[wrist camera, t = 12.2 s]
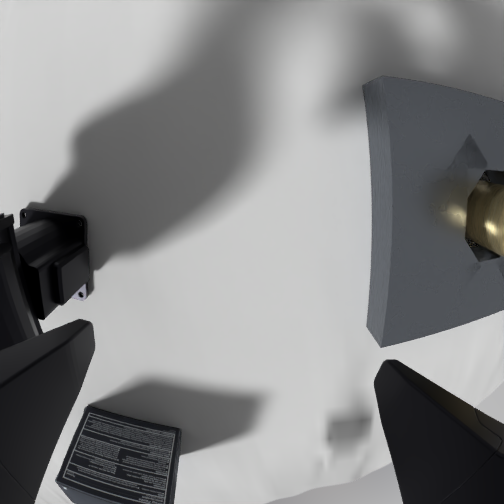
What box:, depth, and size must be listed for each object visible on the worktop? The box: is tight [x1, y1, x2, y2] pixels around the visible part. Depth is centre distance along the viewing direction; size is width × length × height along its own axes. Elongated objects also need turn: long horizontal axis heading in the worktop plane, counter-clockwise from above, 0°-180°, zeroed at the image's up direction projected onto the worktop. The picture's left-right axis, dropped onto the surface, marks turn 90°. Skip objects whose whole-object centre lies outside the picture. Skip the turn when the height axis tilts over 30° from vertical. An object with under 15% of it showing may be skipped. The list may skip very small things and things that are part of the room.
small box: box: [55, 406, 181, 504], centre depth 21 cm, size 11×6×10 cm, turn 79°
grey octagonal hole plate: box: [363, 76, 504, 348], centre depth 18 cm, size 20×18×3 cm
